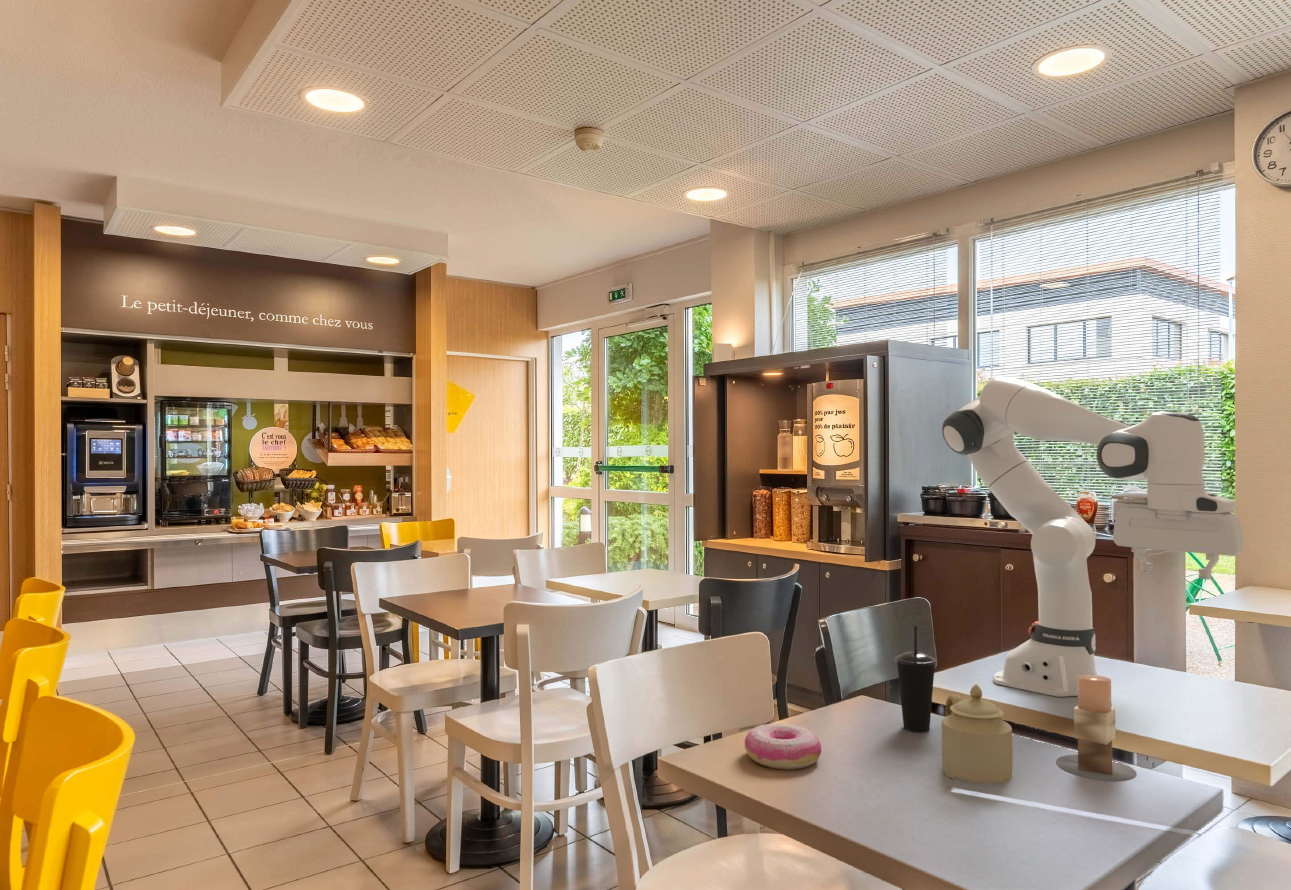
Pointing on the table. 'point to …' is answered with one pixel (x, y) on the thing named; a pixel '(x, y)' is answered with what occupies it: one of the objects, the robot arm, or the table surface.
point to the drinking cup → (916, 687)
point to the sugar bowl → (976, 740)
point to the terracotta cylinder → (1094, 693)
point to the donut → (782, 746)
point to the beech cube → (1094, 725)
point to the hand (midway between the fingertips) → (1175, 575)
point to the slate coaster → (1118, 772)
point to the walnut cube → (1095, 757)
